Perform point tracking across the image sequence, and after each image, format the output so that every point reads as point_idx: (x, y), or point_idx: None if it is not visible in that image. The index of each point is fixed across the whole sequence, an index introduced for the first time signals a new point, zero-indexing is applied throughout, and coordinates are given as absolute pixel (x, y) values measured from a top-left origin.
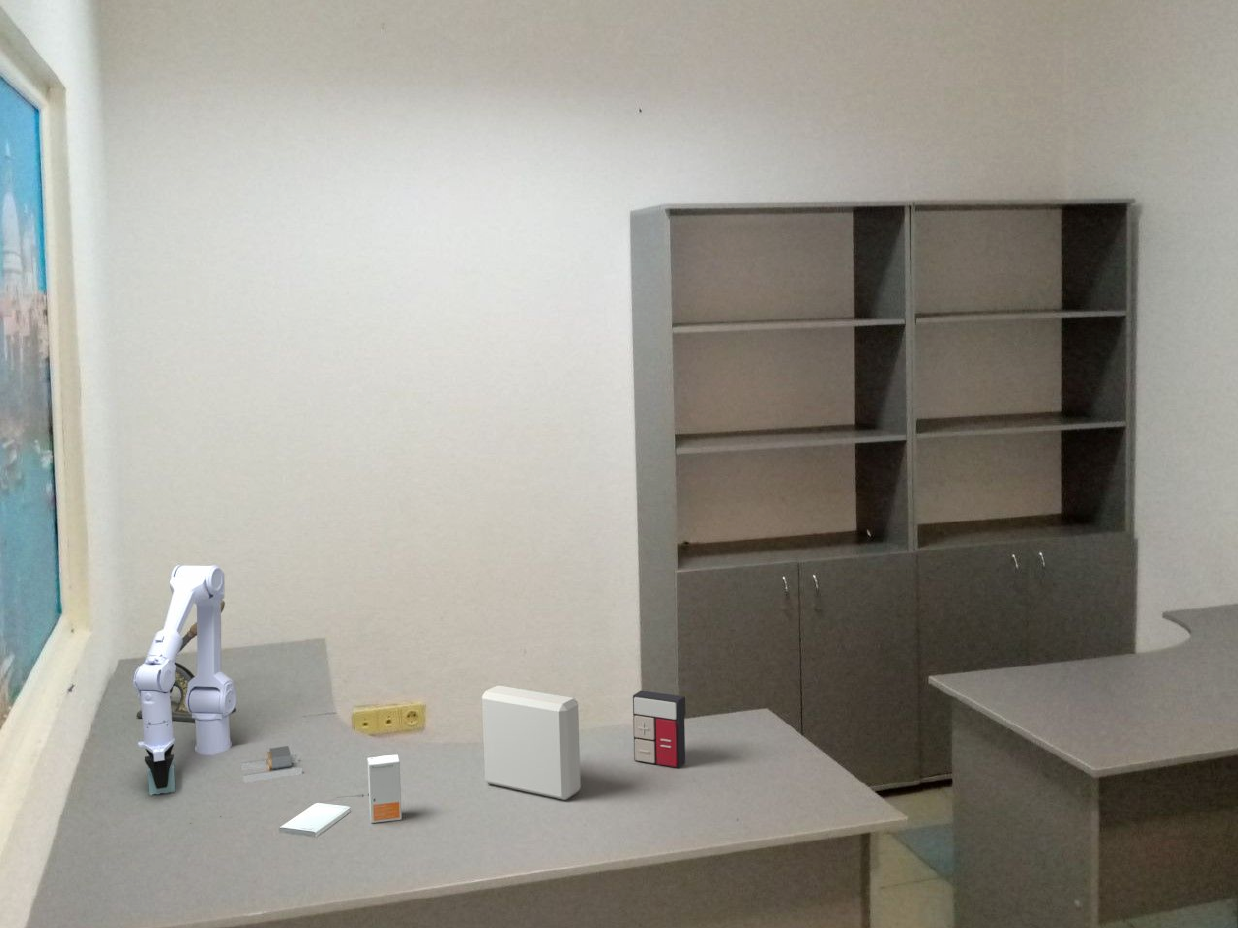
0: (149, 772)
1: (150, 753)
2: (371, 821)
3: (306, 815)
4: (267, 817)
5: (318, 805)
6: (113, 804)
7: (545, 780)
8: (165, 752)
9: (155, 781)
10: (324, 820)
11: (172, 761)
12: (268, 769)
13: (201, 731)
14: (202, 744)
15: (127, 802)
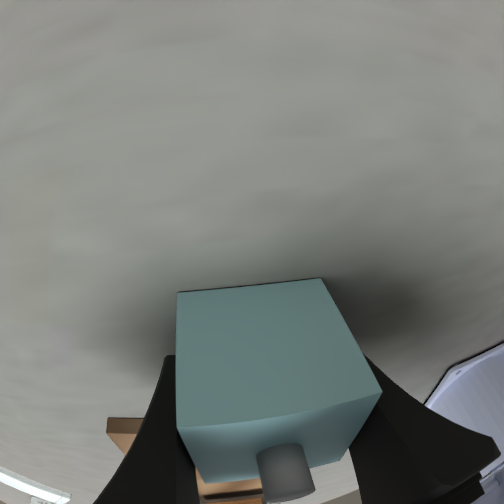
0: (180, 429)
1: (411, 468)
2: (31, 497)
3: (24, 486)
4: (20, 465)
5: (60, 498)
6: (87, 88)
7: None
8: (372, 490)
9: (154, 395)
10: (15, 487)
11: (330, 461)
12: (230, 501)
13: (490, 436)
14: (472, 406)
15: (96, 179)
